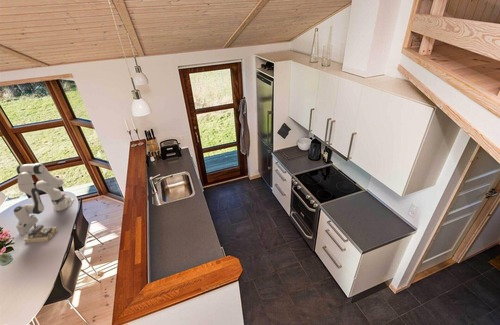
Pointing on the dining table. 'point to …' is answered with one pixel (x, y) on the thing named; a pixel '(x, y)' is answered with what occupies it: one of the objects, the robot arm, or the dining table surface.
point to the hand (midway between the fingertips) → (32, 231)
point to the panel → (41, 238)
